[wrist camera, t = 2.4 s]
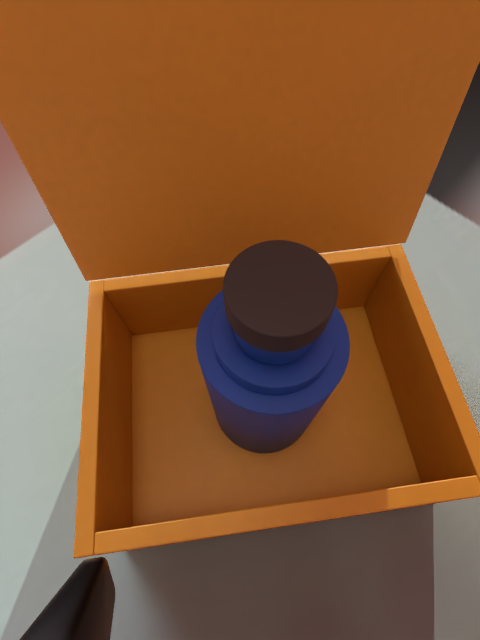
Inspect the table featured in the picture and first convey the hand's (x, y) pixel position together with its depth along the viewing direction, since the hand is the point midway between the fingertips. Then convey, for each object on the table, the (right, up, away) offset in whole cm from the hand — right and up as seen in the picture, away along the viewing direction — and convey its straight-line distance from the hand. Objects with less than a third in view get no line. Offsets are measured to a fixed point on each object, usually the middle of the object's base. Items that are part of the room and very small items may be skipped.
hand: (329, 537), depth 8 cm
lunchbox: (-1, 0, +13) cm, 13 cm away
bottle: (-1, 0, +13) cm, 13 cm away
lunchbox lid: (-2, +11, +6) cm, 12 cm away
